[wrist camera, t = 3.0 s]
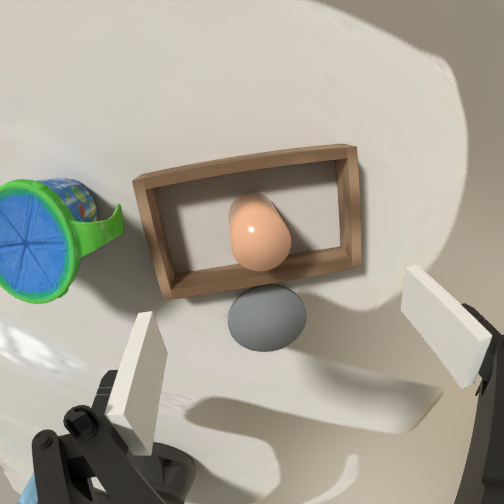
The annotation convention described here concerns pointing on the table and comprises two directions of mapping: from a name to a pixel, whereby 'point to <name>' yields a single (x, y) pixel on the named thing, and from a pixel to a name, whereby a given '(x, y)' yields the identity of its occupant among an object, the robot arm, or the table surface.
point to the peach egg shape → (258, 233)
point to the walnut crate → (238, 274)
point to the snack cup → (48, 236)
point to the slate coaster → (266, 318)
